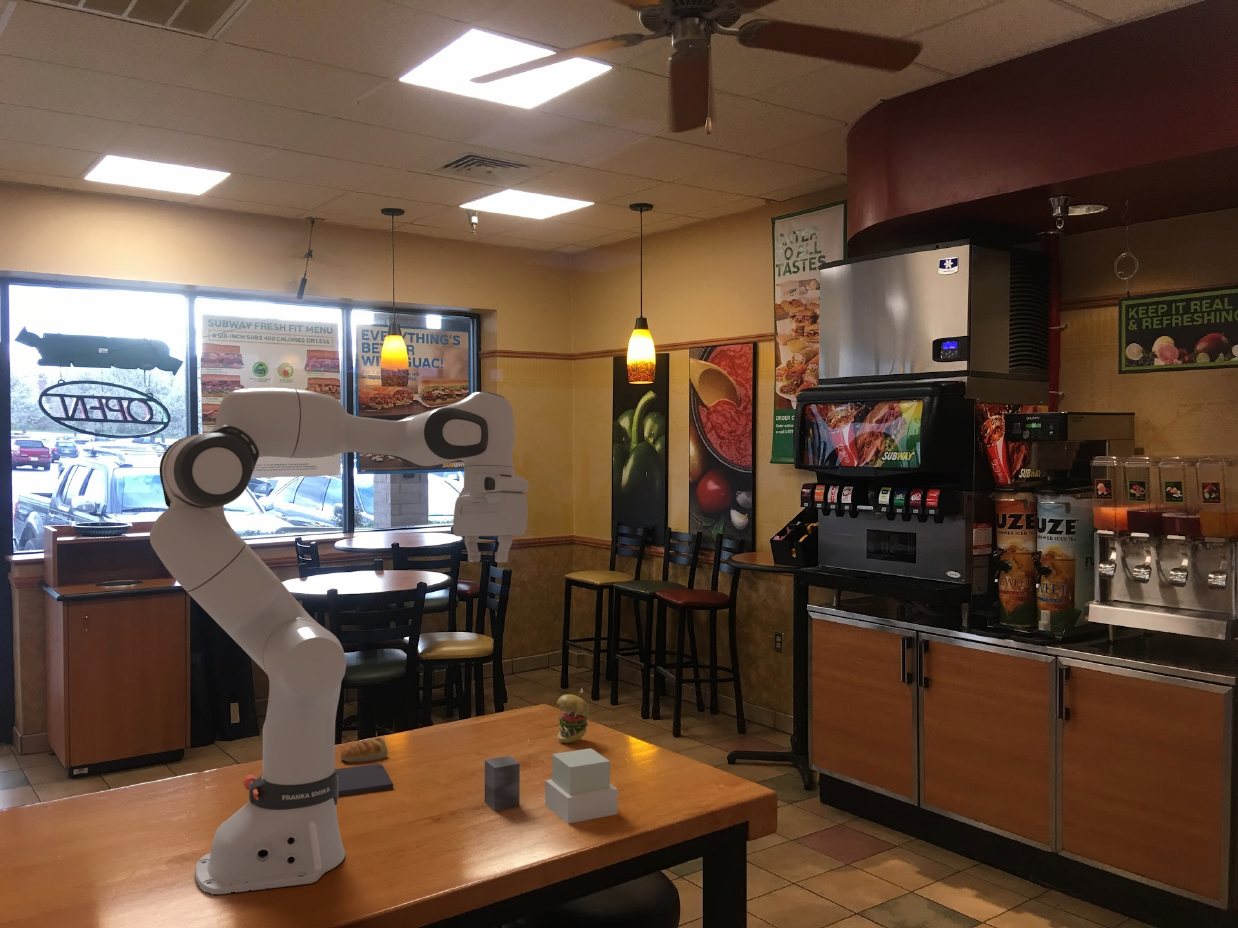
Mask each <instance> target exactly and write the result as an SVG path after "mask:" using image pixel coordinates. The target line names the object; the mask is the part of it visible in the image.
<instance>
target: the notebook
mask: <svg viewBox="0 0 1238 928" xmlns="http://www.w3.org/2000/svg"><path fill="white" fill-rule="evenodd" d="M335 769H336V770H337V775H338V797H344V796H352V795H361V794H366V793H373V792H381V791H382V792H383V791H388V790H393V789H394V782H393V781H392V779H391V778H390V776H389V774H388V773H387V770H386V768H385V767H384V765H383V764H382V763H373V764H366V765H356V766H348V767H342V768H340V767H339V768H335Z"/></svg>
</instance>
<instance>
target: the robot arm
mask: <svg viewBox="0 0 1238 928" xmlns="http://www.w3.org/2000/svg"><path fill="white" fill-rule="evenodd" d="M514 417H515V416H514V412H513V407H512V404H511V402H510V401H509V399H507V398H505V396H502V395H500V394H497V393H494V392H486V391H475V392H472V393H470V394H469V395H468V396H467V397H464V399H460V400H459V401H457V402H455V403H452V404H449V405H445V406H441V407H438V408H434V409H431V410H428V411H426V412H422V413H418V414H417V413H416V414H413V415H410V416H406V417H405V418H401V419H399V420H390V419H389V420H388V419H383V418H382V419H381V418H372V417H364V416H357V415H353V414H350V413H348V412H347V411H346V409H345V407H344V406H343V405H342V403H341V402H340V401H339V400H338V399H337V398H335V396H331V395H328V394H326V393H324V394H323V393H321V392H316V391H312V390H307V389H306V390H305V389H297V388H289V387H288V388H286V387H252V388H251V387H249V388H240V389H235V390H232V391H229V392H228V393H227V394H226V395H225V396H224V397H223V398H222V399H221V401H220V404H219V405H218V408H217V412H216V416H215V418H216V419H215V421H216V422H215V424H214V426H213V428H211V430H210V431H207V432H203V433H196V434H195V433H194V434H192V435H191V434H190V435H188V436H185V437H182V438H180V439H178V440H176V441H175V442H172V444H171V445H169V446H168V447H167V449H166V450H165V452H163V455H162V457H161V460H160V463H159V479H160V484H161V487H162V492H163V496H164V497H163V498H164V502H165V505H166V506H167V507H168V508H167V509H166V510H165V511H163V513H161V514H160V515H159V516H158V517H157V519H156V520H155V521H154V523H153V525H152V526H151V530H150V531H149V532H150V533H149V541H150V545H151V547H152V549H153V551H154V552H155V553H156V555H157V557H158V558H159V560H160V561H161V562H162V564H163V566H164V567H165V568H166V570H167V571H168V572H169V573H170V575H171V576H172V577H173V578H174V579H175V580H176V582H177V583H178V584H179V585H180V586H181V587H182V588H183V589H184V591H186V592H187V594H188V595H189V596H190V597H191V598H192V599H193V600H194V601H195V602H196V603H197V604H198V605H199V606H200V607H201V608H202V609H203V610H204V611H205V612H206V613H207V614H208V615H209V616H210V617H211V619H213V620H214V622H216V623H217V624H218V626H219V627H221V629H222V630H224V632H225V633H227V634H228V636H229V637H230V638H232V640H233V641H234V642H235V643H236V644H237V645H238V646H239V647H241V649H242V650H243V651H244V652H245V653H246V655H248V656H249V658H251V659H252V661H254V663H256V664H257V666H259V668H261V669H262V670H263V671H264V672H265V674H266V675H267V676H268V681H269V682H268V683H269V685H268V686H269V690H268V702H267V709H266V714H265V715H266V716H265V720H264V724H263V725H262V774H261V775H260V776H259V777H257V778H256V776H255V775H254V774H248V775H246V776H244V778H243V780H242V783H243V786H244V788H245V790H247V791H248V798H249V799H248V802H246V803H245V804H243V806H241V808H239V809H238V810H237V811H236V812H234V813H233V814H232V815H231V816H230V817H228V818H227V819H226V820H225V821H224V822H222V823H220V824H219V826H218V827H217V829H216V831H215V832H214V836H213V837H212V838H213V839H212V842H211V847H210V853H207V854H204V855H203V856H201V858H200V859H198V861H197V863H196V864H195V869H194V870H195V871H194V879H195V878H196V879H195V882H196V881H197V882H196V884H197V883H198V884H197V886H198V885H199V886H200V887H199V886H198V887H199V889H201V890H202V891H203V890H205V891H206V892H205V891H204V892H205V893H207V892H209V893H211V894H210V895H213V894H217V895H224V894H225V895H227V894H232V893H231V892H235V893H242V892H249V890H251V891H257V890H258V891H259V890H268V889H273V888H274V889H275V888H283V887H291V886H293V887H294V886H299V885H300V886H301V885H307V884H309V885H310V884H313V883H315V882H317V881H319V879H320V878H321V877H322V876H323V875H324V874H325V873H327V872H328V871H331V870H333V869H334V868H336V867H337V866H339V865H340V864H341V863H342V862H343V861H344V859H345V856H346V851H345V847H344V845H343V842H342V841H343V840H342V838H341V833H340V827H339V821H338V814H337V813H338V812H337V811H338V810H337V805H338V798H339V796H338V775H337V770H336V769H337V768H336V767H335V766H336V764H335V763H336V762H335V761H336V752H335V751H336V749H335V748H336V747H335V745H336V742H335V741H336V718H337V711H338V706H339V701H340V694H341V688H342V681H343V679H344V677H345V675H346V669H347V659H346V655H345V651H344V648H343V646H342V643H341V642H340V640H339V639H338V638H337V636H336V635H335V634H333V633H332V632H331V631H329V630H328V629H326V628H325V627H324V626H323V625H321V624H320V623H318V622H317V621H316V620H315V619H314V617H312V616H311V615H310V614H309V613H308V612H307V611H306V609H305V608H304V607H303V606H302V605H301V604H300V602H298V600H297V599H296V598H295V597H294V595H293V594H292V593H291V592H290V591H289V590H288V588H287V587H286V586H285V584H283V582H282V581H281V579H280V578H279V577H278V576H277V575H276V574H275V573H274V571H272V569H271V568H270V567H269V566H268V565H267V564H266V563H265V562H264V561H263V560H262V559H261V558H260V556H259V555H258V554H257V553H256V552H255V551H254V550H253V549H252V548H251V547H250V546H249V545H248V543H247V542H246V541H245V540H244V539H243V538H242V537H241V536H240V535H239V534H238V533H237V532H236V531H235V530H234V529H233V528H232V525H230V523H229V522H228V520H227V518H226V515H225V509H224V508H225V507H224V506H226V505H228V504H230V503H232V502H234V501H235V500H237V499H238V498H239V497H240V496H242V495H243V493H244V492H245V491H246V489H247V487H248V486H249V483H250V482H251V478H252V477H253V476H252V475H253V473H254V470H255V467H256V465H257V462H258V459H259V458H263V457H266V458H267V457H271V458H272V457H273V458H275V457H276V458H287V459H315V458H325V457H331V456H332V457H333V456H335V455H338V454H343V453H357V454H366V455H367V454H368V455H379V456H388V457H393V458H395V459H397V460H399V461H401V462H403V463H405V464H406V465H409V466H411V467H413V468H416V469H421V470H423V469H430V468H434V467H436V466H438V465H444V464H448V463H452V462H456V461H462V463H463V467H464V468H463V471H464V472H463V488H462V489H461V491H460V492H459V494H458V497H457V498H456V501H455V503H454V510H453V511H454V512H453V521H452V530H453V534H454V536H455V537H464V545H465V547H466V551H467V561H468V562H470V563H479V562H480V561H481V556H482V555H481V553H482V552H481V551H479V547H478V543H479V539H480V537H496V536H497V542H498V547H497V551H495V552H494V562H496V563H507V562H508V561H509V552H510V549H511V547H512V545H513V536H523V535H524V534H525V533H526V530H527V528H528V518H529V517H528V516H529V515H528V514H529V512H528V511H529V510H528V509H529V503H528V497H527V495H526V494H527V493H528V492H529V491H530V489H529V488H530V483H529V480H527V479H525V478H523V477H521V476H519V475H518V474H516V473H515V465H514V461H513V449H514V447H515V419H514ZM267 888H268V889H267ZM209 893H208V894H209Z"/></svg>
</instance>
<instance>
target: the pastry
mask: <svg viewBox="0 0 1238 928" xmlns="http://www.w3.org/2000/svg"><path fill="white" fill-rule="evenodd" d="M388 754H389V750H388V747H387V745H386V742H385V740H384V738H382V737H375V738H373V739H372V738H370V739H369V738H368V739H365V740H364V739H363V740H361V741H358V742H357V743H356V744H354V745H351V746H349V747H347V748H346V749H344V750H342V752H341V755H340V760H342V761H345V762H347V763H351V764H352V763H361V762H362V763H365V762H370V761H376V760H377V761H378V760H382V759H384V758H387V756H389V755H388Z"/></svg>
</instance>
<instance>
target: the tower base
mask: <svg viewBox="0 0 1238 928" xmlns="http://www.w3.org/2000/svg"><path fill="white" fill-rule="evenodd" d="M544 786H545V787H544V789H545V790H544V805H545V806H546V807H547V808H548V809H550V810H551V811H552V812H553V813H554V814H555V815H556V816H558V817H559V818H560V819H561V820H562V821H564V822H565V823H566V824H573V823H578V822H584V821H589V820H593V819H599V818H604V817H609V816H615V815H618V807H619V806H618V801H619V800H618V795H619V794H618V793H619V790H618V788H617V787H615V786H614V785H613V784H612V783H610V788H608V789H602V790H596V791H590V792H585V793H579V794H573V795H569V794H568V793H567V792H565V791H564V790H563V789H562V788H560V787H559V786H558V785H557V784H555V783H554V782H553V781H552V778H550V779H545V782H544Z"/></svg>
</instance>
